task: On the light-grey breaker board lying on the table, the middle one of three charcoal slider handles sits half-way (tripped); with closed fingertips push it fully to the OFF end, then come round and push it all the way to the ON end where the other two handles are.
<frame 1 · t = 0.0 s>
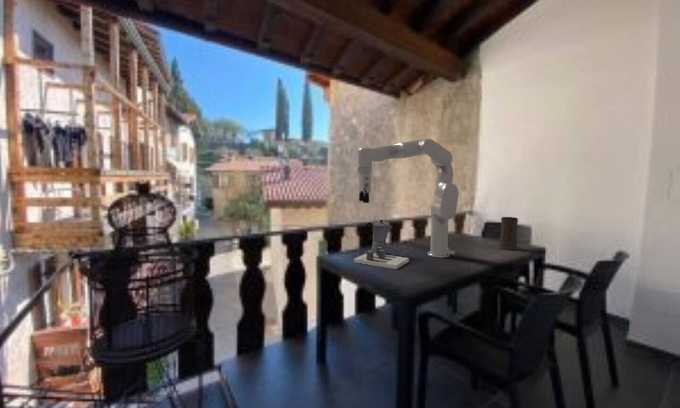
hand: (363, 201, 230), 31 cm above the table, tool pointing down, fingers open, 9 cm apart
breaker 2: (381, 254, 223), point 4 cm above the table, slide at 0.0 cm
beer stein: (506, 247, 267), on the table
panel: (381, 262, 224), on the table
breaker 3: (370, 255, 220), point 4 cm above the table, slide at 4.0 cm
breaker 1: (379, 251, 230), point 4 cm above the table, slide at 4.0 cm
moka pot: (377, 254, 243), on the table
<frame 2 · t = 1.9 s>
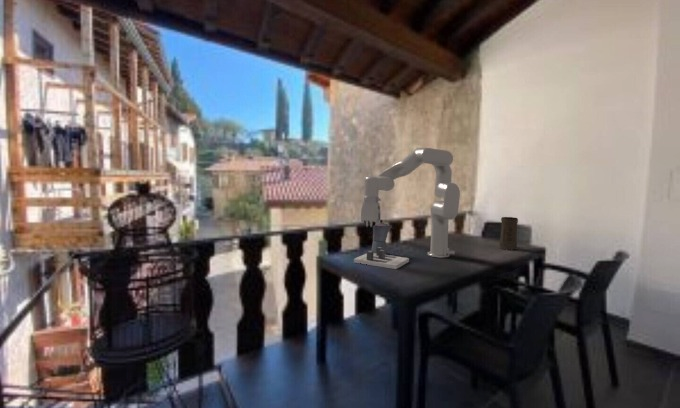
hand: (369, 233, 226), 15 cm above the table, tool pointing down, fingers closed
nothing on the table moved.
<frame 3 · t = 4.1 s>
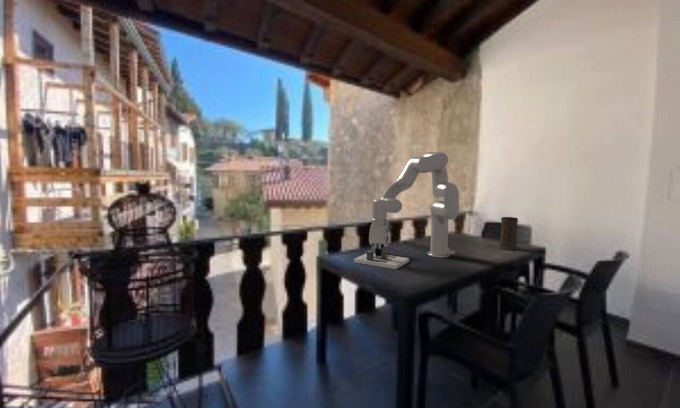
hand: (378, 256, 225), 3 cm above the table, tool pointing down, fingers closed
breaker 2: (384, 254, 223), point 4 cm above the table, slide at -1.5 cm, touching gripper
everything else where it was.
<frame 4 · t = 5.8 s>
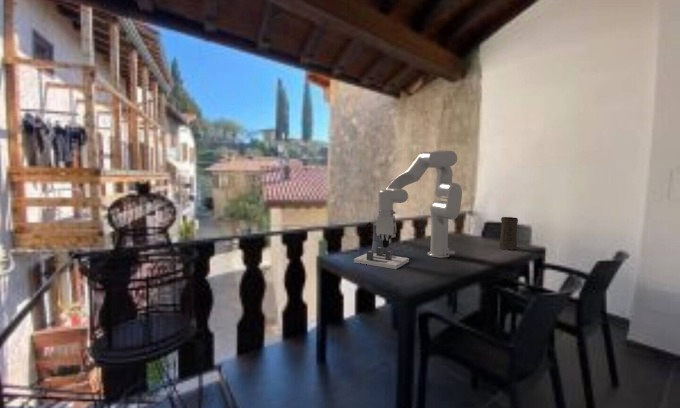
hand: (385, 247, 223), 8 cm above the table, tool pointing down, fingers closed
breaker 2: (388, 255, 221), point 4 cm above the table, slide at -4.0 cm
everything else where it was.
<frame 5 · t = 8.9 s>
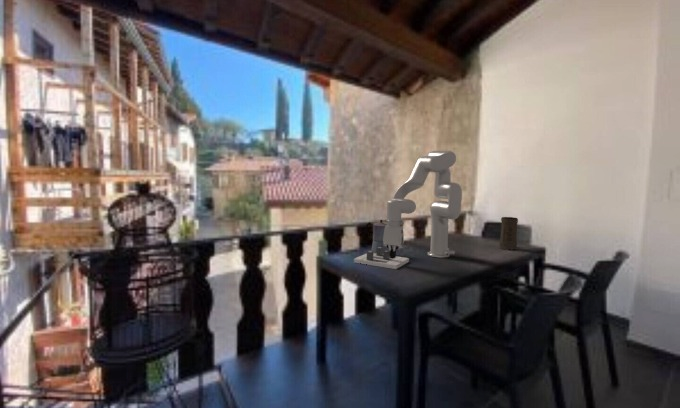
hand: (392, 257, 220), 3 cm above the table, tool pointing down, fingers closed
breaker 2: (386, 254, 222), point 4 cm above the table, slide at -2.8 cm, touching gripper
everything else where it was.
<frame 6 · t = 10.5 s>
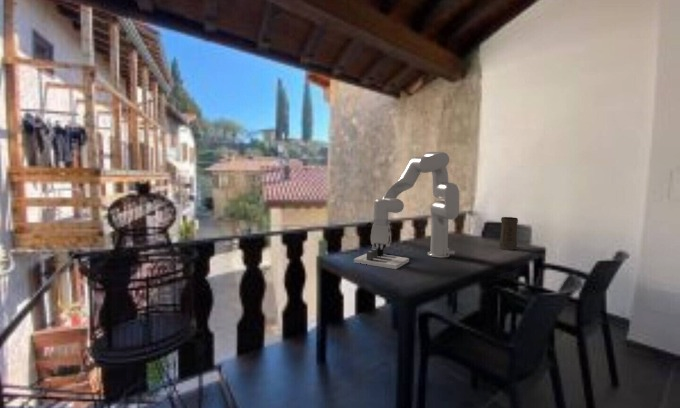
hand: (380, 256, 224), 3 cm above the table, tool pointing down, fingers closed
breaker 2: (374, 253, 226), point 4 cm above the table, slide at 4.4 cm, touching gripper
everything else where it was.
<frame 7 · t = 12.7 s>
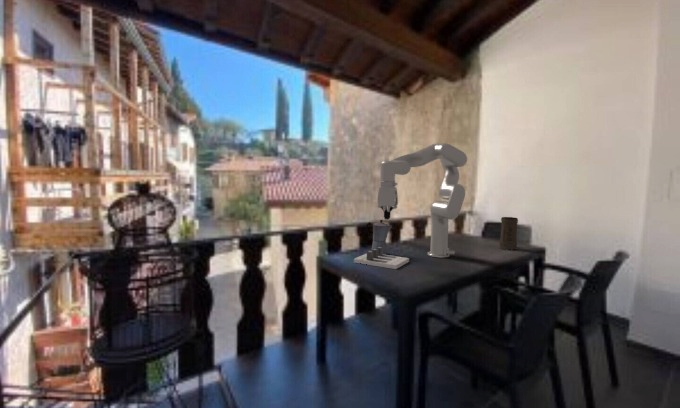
hand: (387, 219, 222), 23 cm above the table, tool pointing down, fingers closed
breaker 2: (374, 253, 225), point 4 cm above the table, slide at 4.0 cm
everything else where it was.
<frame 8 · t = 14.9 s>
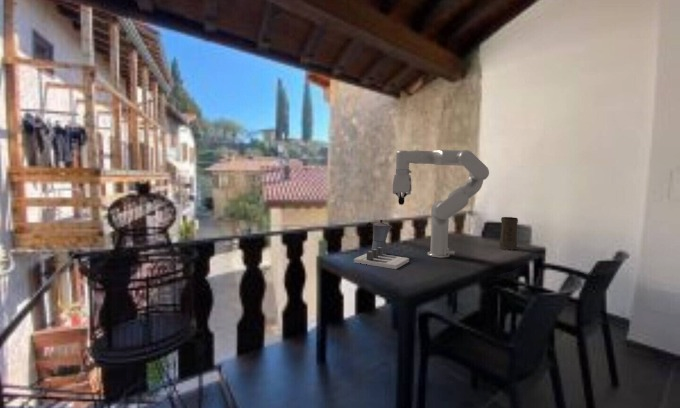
hand: (401, 204, 240), 29 cm above the table, tool pointing down, fingers closed
nothing on the table moved.
at the end: breaker 2 slide at 4.0 cm; breaker 1 slide at 4.0 cm; breaker 3 slide at 4.0 cm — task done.
